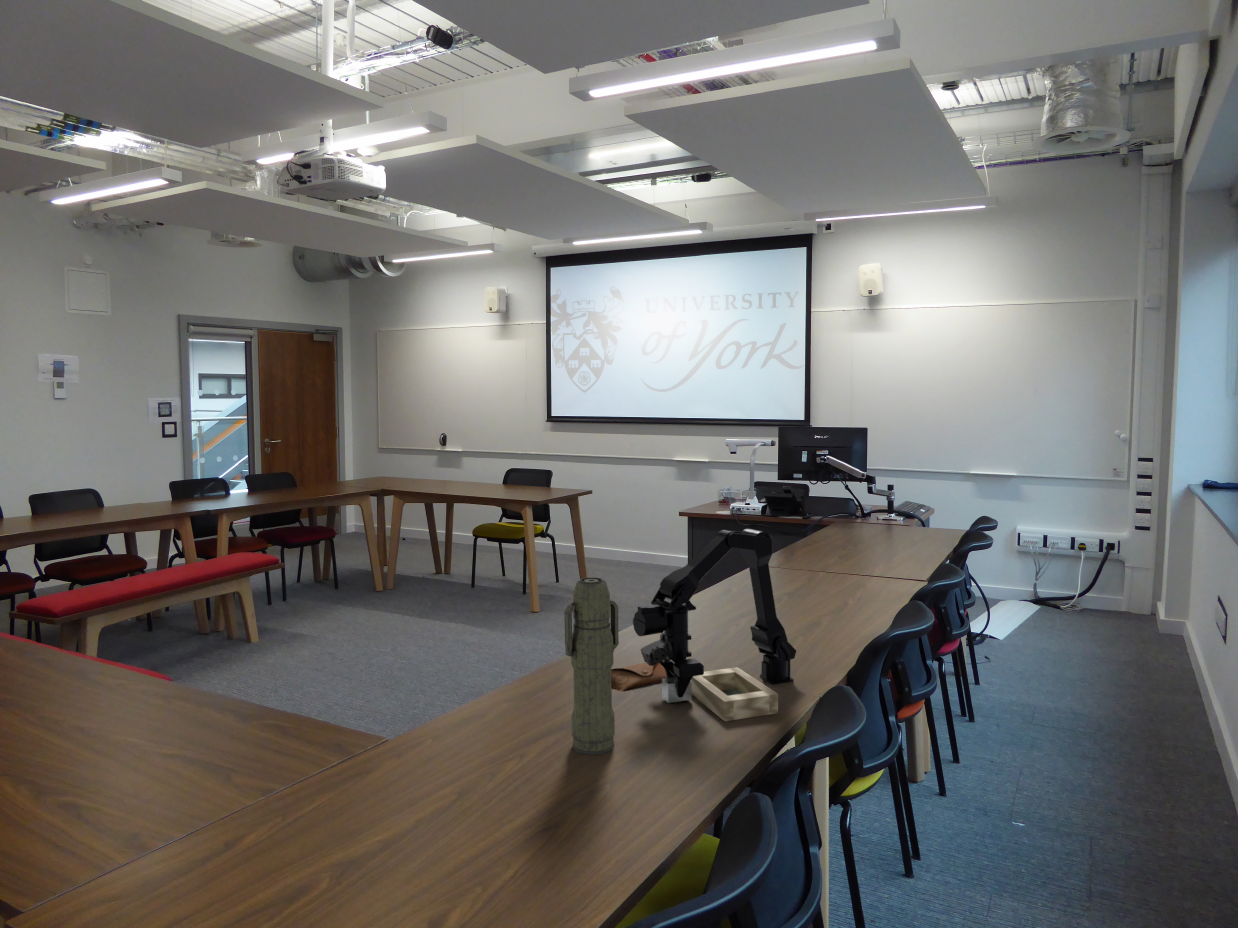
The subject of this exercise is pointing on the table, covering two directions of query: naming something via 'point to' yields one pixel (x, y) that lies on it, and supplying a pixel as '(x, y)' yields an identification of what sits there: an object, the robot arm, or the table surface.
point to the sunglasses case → (637, 676)
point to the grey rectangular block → (674, 691)
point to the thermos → (592, 664)
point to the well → (734, 694)
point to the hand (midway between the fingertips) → (676, 693)
